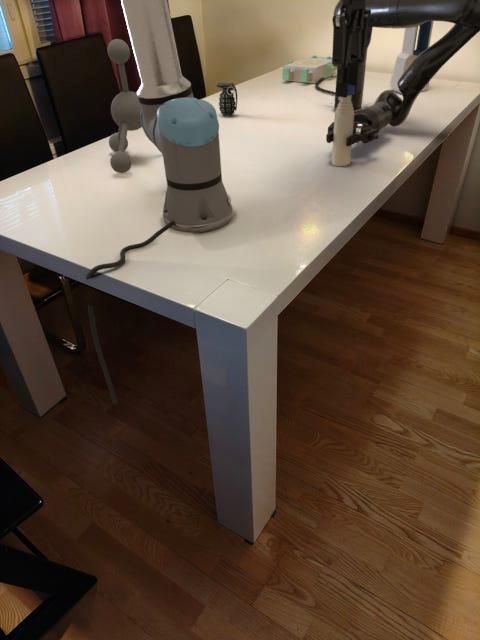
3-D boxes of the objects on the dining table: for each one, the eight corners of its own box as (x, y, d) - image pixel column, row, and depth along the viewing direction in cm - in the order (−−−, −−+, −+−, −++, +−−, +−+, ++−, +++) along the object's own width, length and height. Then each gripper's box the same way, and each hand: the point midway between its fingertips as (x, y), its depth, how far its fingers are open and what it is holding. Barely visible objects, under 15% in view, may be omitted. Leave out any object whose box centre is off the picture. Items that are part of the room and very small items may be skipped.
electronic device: (398, 94, 180) (412, -3, 162) (388, 89, 186) (400, -5, 168) (428, 90, 183) (445, -6, 164) (417, 86, 188) (432, -7, 170)
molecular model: (195, 164, 133) (181, 39, 115) (114, 179, 127) (87, 50, 109) (172, 140, 150) (157, 28, 132) (101, 152, 145) (75, 37, 126)
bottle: (333, 159, 132) (338, 87, 121) (351, 160, 130) (357, 87, 119) (330, 165, 128) (334, 92, 117) (348, 166, 127) (355, 92, 116)
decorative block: (304, 53, 218) (345, 56, 208) (304, 69, 222) (344, 73, 212) (273, 65, 202) (316, 68, 192) (273, 81, 206) (315, 86, 196)
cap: (334, 94, 119) (335, 86, 118) (343, 91, 121) (343, 83, 120) (348, 96, 116) (349, 88, 115) (357, 93, 119) (358, 85, 118)
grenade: (217, 117, 168) (214, 86, 162) (221, 112, 172) (219, 82, 166) (235, 117, 166) (233, 86, 160) (239, 113, 171) (238, 82, 165)
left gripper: (351, -20, 97) (342, 104, 112) (389, -26, 107) (376, 88, 122) (319, -20, 101) (314, 100, 116) (358, -26, 111) (349, 85, 126)
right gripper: (344, 105, 135) (313, 121, 125) (393, 111, 128) (365, 129, 118) (342, 133, 140) (312, 150, 129) (389, 140, 133) (362, 160, 122)
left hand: (346, 94), depth 119 cm, fingers closed on cap, 4 cm apart
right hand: (337, 140), depth 124 cm, fingers closed on bottle, 5 cm apart
